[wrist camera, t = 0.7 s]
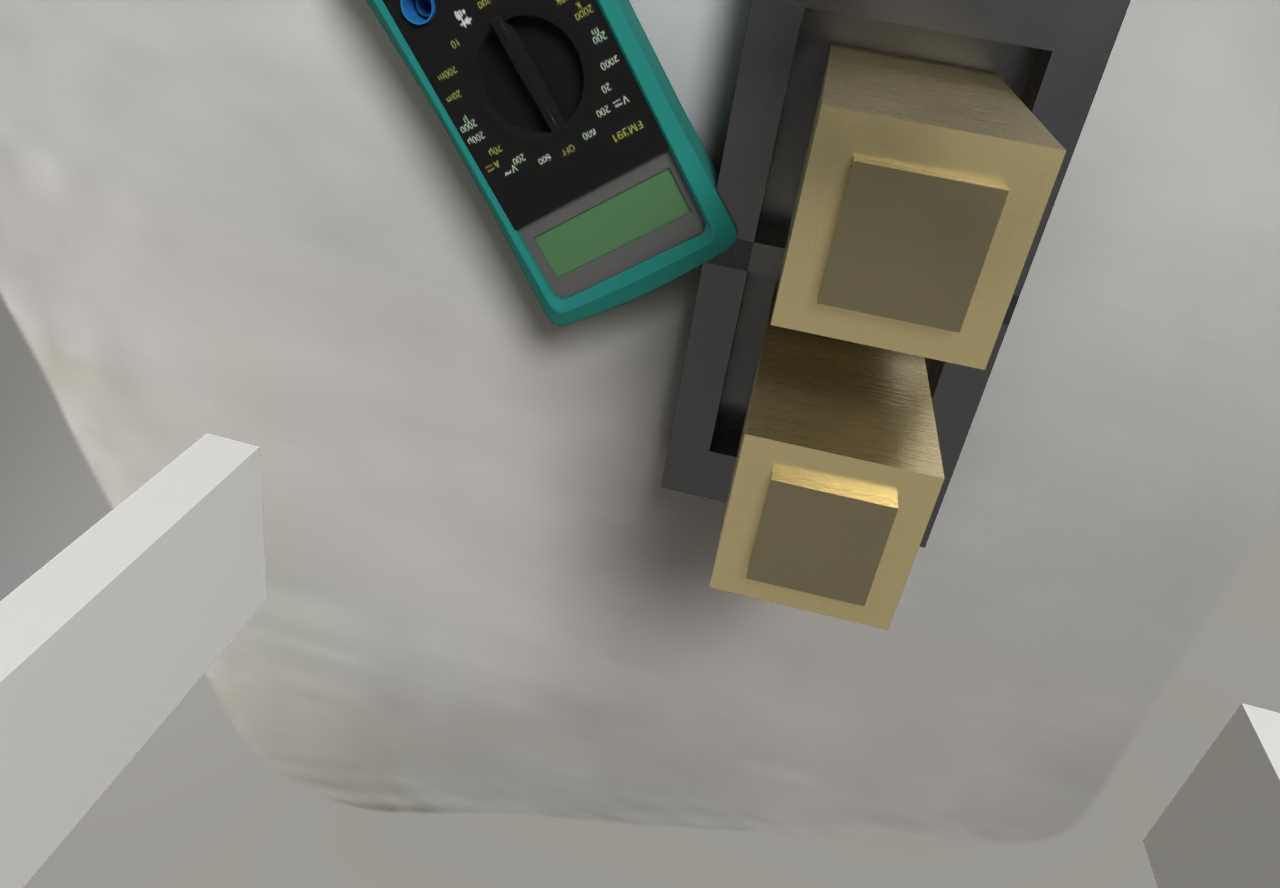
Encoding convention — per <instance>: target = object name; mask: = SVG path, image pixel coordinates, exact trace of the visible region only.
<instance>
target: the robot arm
mask: <svg viewBox="0 0 1280 888" xmlns="http://www.w3.org/2000/svg"><path fill="white" fill-rule="evenodd" d="M266 600H267V594H266V574H265V553H264V533H263V512H262V491H261V471H260V450H259V447H258V446H254V445H250V444H246V443H242V442H239V441H235V440H231V439H227V438H223V437H219V436H216V435H212V434H208V433H207V434H205V435H204V436H203V437H202V438H200V439H199V440H198V441H197V442H196V443H194V444H193V445H192V446H191V447H189V448H188V449H187V450H186V451H184V452H183V453H182V454H181V455H180V456H178V457H177V458H176V459H175V460H173V461H172V462H171V463H170V464H168V465H167V466H166V467H165V468H164V469H162V470H161V471H160V472H159V473H157V474H156V475H155V476H154V477H153V478H151V479H150V480H149V481H148V482H146V483H145V484H144V485H143V486H141V487H140V488H139V489H138V490H137V491H135V492H134V493H133V494H132V495H130V496H129V497H128V498H127V499H125V500H124V501H123V502H122V503H121V504H119V505H118V506H117V507H116V508H114V509H113V510H112V511H111V512H110V513H108V514H107V515H106V516H105V517H103V518H102V519H101V520H100V521H98V523H96V524H95V525H94V526H92V527H91V528H90V529H89V530H87V531H86V532H85V533H84V534H83V535H81V536H80V537H79V538H78V539H76V540H75V541H74V542H73V543H71V544H70V545H69V546H68V547H67V548H65V549H64V550H63V551H62V552H61V553H59V554H58V555H57V556H55V557H54V558H53V559H52V560H51V561H49V562H48V563H47V564H46V565H44V566H43V567H42V568H41V569H40V570H38V571H37V572H36V573H35V574H33V575H32V576H31V577H30V578H28V579H27V580H26V581H25V582H24V583H22V584H21V585H20V586H19V587H17V588H16V589H15V590H14V591H13V592H11V593H10V594H9V595H8V596H6V597H5V598H4V599H3V600H1V601H0V888H23V887H24V886H25V885H26V884H27V883H28V881H29V880H30V879H31V878H32V877H33V875H34V874H35V873H36V872H37V871H38V870H39V868H40V867H41V866H42V865H43V864H44V862H45V861H46V860H47V859H48V858H49V857H50V855H51V854H52V853H53V852H54V851H55V849H56V848H57V847H58V846H59V845H60V843H61V842H62V841H63V840H64V839H65V838H66V836H67V835H68V834H69V833H70V832H71V831H72V829H73V828H74V827H75V826H76V825H77V823H78V822H79V821H80V820H81V819H82V817H83V816H84V815H85V814H86V813H87V812H88V810H89V809H90V808H91V807H92V806H93V805H94V803H95V802H96V801H97V800H98V799H99V797H100V796H101V795H102V794H103V793H104V792H105V790H106V789H107V788H108V787H109V786H110V784H111V783H112V782H113V781H114V780H115V779H116V777H117V776H118V775H119V774H120V773H121V771H122V770H123V769H124V768H125V767H126V765H127V764H128V763H129V762H130V761H131V759H132V758H133V757H134V756H135V755H136V754H137V753H138V751H139V750H140V749H141V748H142V747H143V745H144V744H145V743H146V742H147V740H148V739H149V738H150V737H151V736H152V735H153V734H154V732H155V731H156V730H157V729H158V728H159V726H160V725H161V724H162V723H163V722H164V721H165V719H166V718H167V717H168V716H169V715H170V713H171V712H172V711H173V710H174V709H175V708H176V706H177V705H178V704H179V703H180V702H181V700H182V699H183V698H184V697H185V696H186V695H187V693H188V692H189V691H190V690H191V689H192V687H193V686H194V685H195V684H196V683H197V682H198V680H199V679H200V678H201V677H202V676H203V674H204V673H205V672H206V671H207V670H208V669H209V667H210V666H211V665H212V664H213V663H214V661H215V660H216V659H217V658H218V657H219V656H220V654H221V653H222V652H223V651H224V650H225V648H226V647H227V646H228V645H229V644H230V643H231V641H232V640H233V639H234V638H235V637H236V635H237V634H238V633H239V632H240V631H241V630H242V628H243V627H244V626H245V625H246V624H247V622H248V621H249V620H250V619H251V618H252V617H253V615H254V614H255V613H256V612H257V611H258V609H259V608H260V607H261V606H262V605H263V604H264V602H265V601H266ZM1143 842H1144V844H1145V848H1146V851H1147V854H1148V857H1149V861H1150V864H1151V867H1152V870H1153V873H1154V877H1155V880H1156V883H1157V886H1158V888H1280V713H1277V712H1273V711H1269V710H1265V709H1262V708H1257V707H1254V706H1250V705H1246V704H1243V703H1242V704H1241V705H1240V707H1239V708H1238V709H1237V711H1236V712H1235V714H1234V715H1233V716H1232V718H1231V719H1230V720H1229V722H1228V723H1227V725H1226V726H1225V727H1224V729H1223V730H1222V731H1221V733H1220V734H1219V736H1218V737H1217V738H1216V740H1215V741H1214V743H1213V744H1212V745H1211V747H1210V748H1209V750H1208V751H1207V752H1206V754H1205V755H1204V757H1203V758H1202V759H1201V761H1200V762H1199V764H1198V765H1197V766H1196V768H1195V769H1194V771H1193V772H1192V773H1191V775H1190V776H1189V777H1188V779H1187V780H1186V781H1185V783H1184V784H1183V786H1182V787H1181V788H1180V790H1179V791H1178V793H1177V794H1176V795H1175V797H1174V798H1173V799H1172V801H1171V802H1170V804H1169V805H1168V807H1167V808H1166V809H1165V811H1164V812H1163V813H1162V815H1161V816H1160V817H1159V819H1158V820H1157V822H1156V823H1155V824H1154V826H1153V827H1152V829H1151V830H1150V831H1149V833H1148V834H1147V836H1146V837H1145V838H1144V840H1143Z"/></svg>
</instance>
